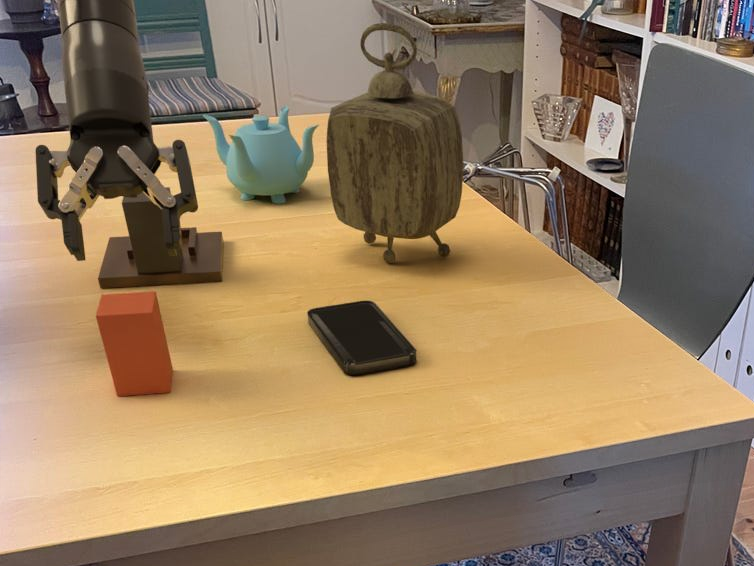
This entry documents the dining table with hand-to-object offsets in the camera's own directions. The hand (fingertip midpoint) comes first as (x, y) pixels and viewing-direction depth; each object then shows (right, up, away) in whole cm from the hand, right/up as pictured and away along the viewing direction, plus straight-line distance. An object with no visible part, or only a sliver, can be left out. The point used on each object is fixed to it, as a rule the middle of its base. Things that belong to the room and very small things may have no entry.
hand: (125, 254), depth 89 cm
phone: (+21, -5, +10) cm, 24 cm away
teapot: (+3, +28, +47) cm, 55 cm away
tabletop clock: (+23, +11, +29) cm, 39 cm away
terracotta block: (+1, -11, +3) cm, 12 cm away
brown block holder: (-5, +10, +26) cm, 29 cm away
